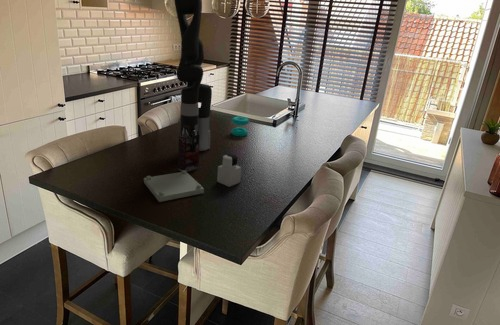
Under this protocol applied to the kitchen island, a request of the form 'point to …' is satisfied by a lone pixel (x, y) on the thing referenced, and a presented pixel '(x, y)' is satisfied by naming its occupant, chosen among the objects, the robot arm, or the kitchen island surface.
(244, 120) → the donuts
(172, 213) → the kitchen island surface
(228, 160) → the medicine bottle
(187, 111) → the robot arm
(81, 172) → the kitchen island surface
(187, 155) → the supplement box
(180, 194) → the stud plate
